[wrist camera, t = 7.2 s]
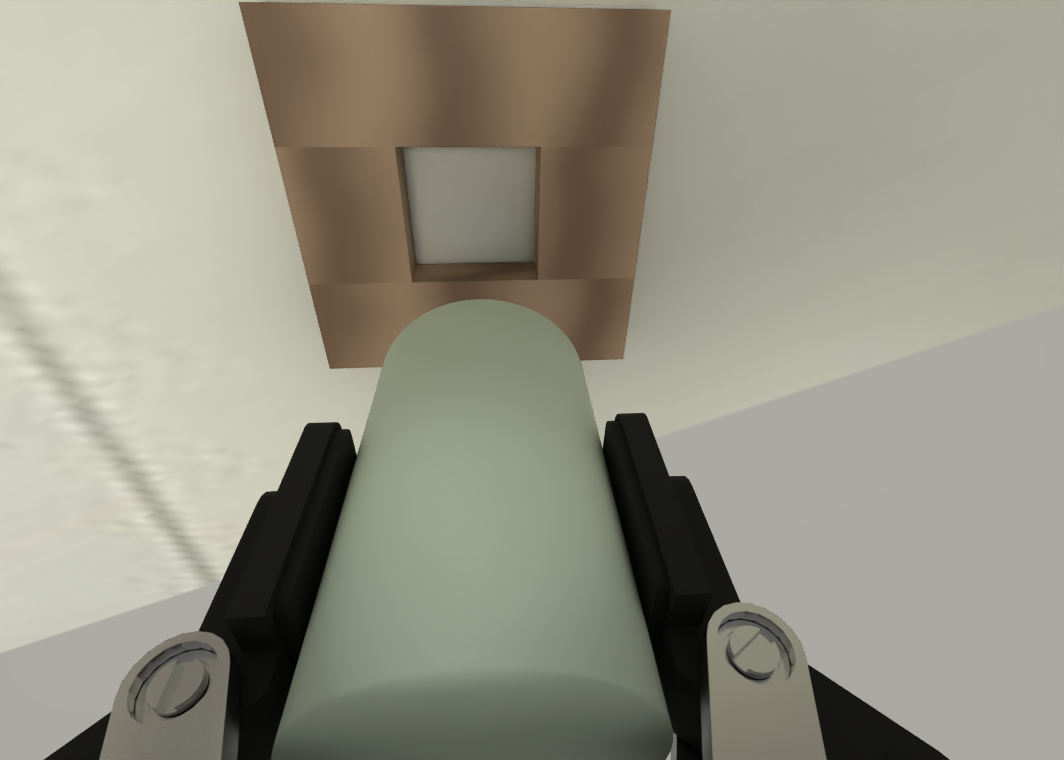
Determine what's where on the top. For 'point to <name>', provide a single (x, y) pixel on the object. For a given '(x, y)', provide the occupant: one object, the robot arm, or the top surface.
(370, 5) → the pocket block
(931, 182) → the top surface
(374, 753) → the sage peg
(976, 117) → the top surface
